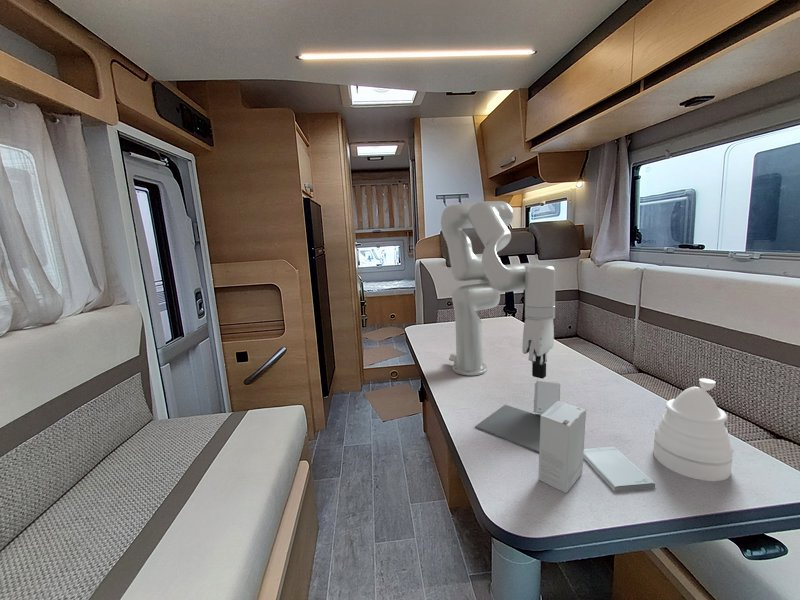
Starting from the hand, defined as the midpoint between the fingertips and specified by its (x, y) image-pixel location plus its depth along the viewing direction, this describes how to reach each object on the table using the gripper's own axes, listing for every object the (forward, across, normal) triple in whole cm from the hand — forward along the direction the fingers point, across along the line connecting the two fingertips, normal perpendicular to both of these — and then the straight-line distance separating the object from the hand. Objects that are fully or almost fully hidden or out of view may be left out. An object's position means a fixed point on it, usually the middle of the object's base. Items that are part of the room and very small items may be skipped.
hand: (539, 376), depth 99 cm
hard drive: (+11, +14, +22) cm, 29 cm away
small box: (+6, -1, +1) cm, 7 cm away
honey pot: (+11, +2, +34) cm, 35 cm away
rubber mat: (+10, +11, +1) cm, 15 cm away
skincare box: (+10, +24, +15) cm, 31 cm away
